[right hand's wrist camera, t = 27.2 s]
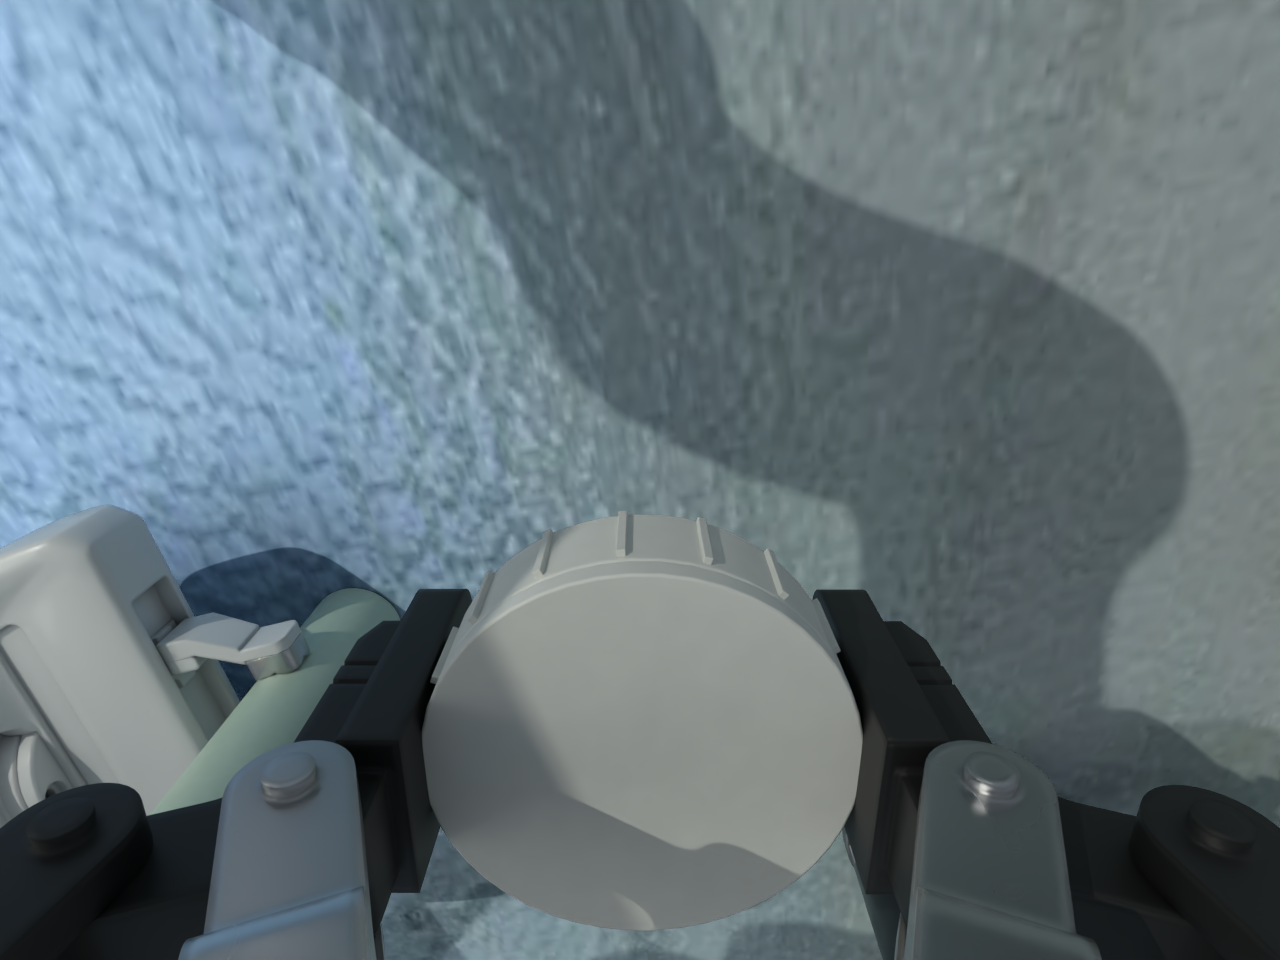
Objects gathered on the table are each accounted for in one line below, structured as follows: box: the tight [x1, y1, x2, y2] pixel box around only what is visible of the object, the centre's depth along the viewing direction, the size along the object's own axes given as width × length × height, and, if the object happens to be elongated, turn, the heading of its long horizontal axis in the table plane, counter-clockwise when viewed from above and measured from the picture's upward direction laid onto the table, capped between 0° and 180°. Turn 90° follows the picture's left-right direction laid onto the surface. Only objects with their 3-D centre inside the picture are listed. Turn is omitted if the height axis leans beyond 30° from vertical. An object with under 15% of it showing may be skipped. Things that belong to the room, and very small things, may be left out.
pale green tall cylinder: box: [150, 588, 401, 815], centre depth 29 cm, size 4×4×19 cm
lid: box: [422, 511, 863, 930], centre depth 10 cm, size 6×6×2 cm
